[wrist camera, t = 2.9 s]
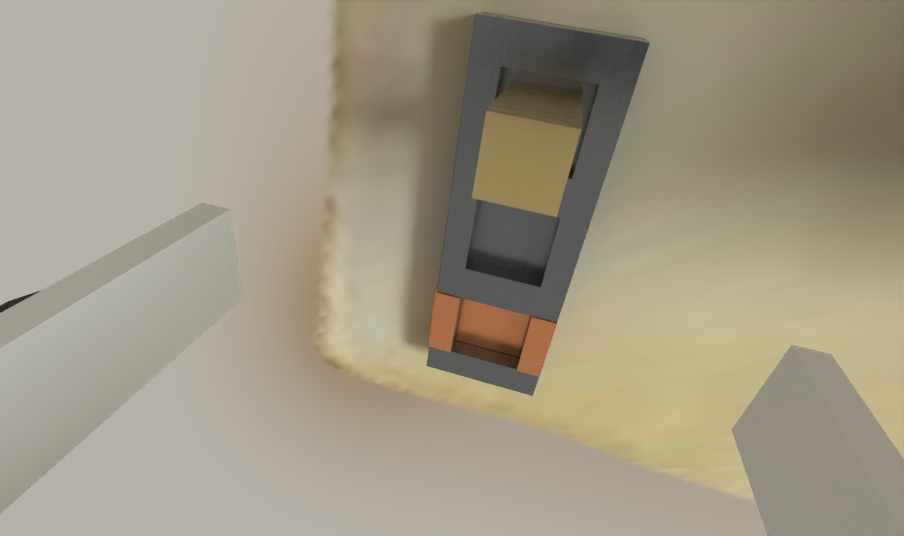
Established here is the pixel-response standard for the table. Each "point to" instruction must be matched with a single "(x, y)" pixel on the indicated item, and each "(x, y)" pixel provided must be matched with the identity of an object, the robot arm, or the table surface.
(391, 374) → the table surface
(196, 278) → the robot arm
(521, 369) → the rail
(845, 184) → the table surface
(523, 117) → the tan rectangular block
